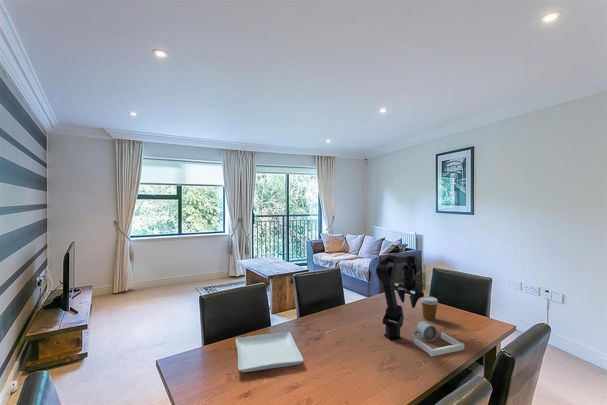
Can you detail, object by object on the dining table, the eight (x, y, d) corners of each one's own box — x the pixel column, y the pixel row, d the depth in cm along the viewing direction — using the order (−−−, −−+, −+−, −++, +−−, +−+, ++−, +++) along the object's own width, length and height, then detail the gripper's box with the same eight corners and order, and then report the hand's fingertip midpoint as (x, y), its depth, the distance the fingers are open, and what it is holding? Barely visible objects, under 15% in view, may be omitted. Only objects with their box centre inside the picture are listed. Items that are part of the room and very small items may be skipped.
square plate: (238, 379, 117) (238, 369, 117) (235, 345, 143) (235, 337, 143) (304, 368, 124) (304, 359, 124) (289, 338, 150) (289, 330, 150)
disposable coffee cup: (435, 323, 166) (435, 302, 166) (418, 319, 172) (418, 299, 172) (439, 318, 174) (439, 298, 173) (422, 314, 179) (423, 294, 179)
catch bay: (431, 356, 132) (431, 351, 132) (412, 343, 144) (412, 338, 144) (464, 349, 138) (464, 344, 138) (443, 337, 150) (443, 332, 150)
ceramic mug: (428, 333, 155) (428, 318, 155) (437, 340, 147) (437, 325, 146) (409, 335, 153) (409, 320, 153) (418, 342, 145) (418, 327, 145)
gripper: (432, 280, 156) (432, 309, 156) (409, 272, 173) (409, 298, 174) (415, 282, 152) (414, 312, 152) (393, 273, 170) (393, 300, 170)
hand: (408, 305), depth 162 cm, fingers open, 9 cm apart
